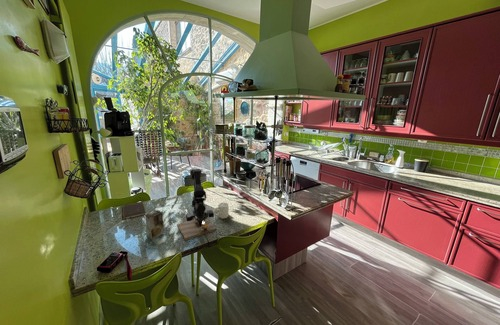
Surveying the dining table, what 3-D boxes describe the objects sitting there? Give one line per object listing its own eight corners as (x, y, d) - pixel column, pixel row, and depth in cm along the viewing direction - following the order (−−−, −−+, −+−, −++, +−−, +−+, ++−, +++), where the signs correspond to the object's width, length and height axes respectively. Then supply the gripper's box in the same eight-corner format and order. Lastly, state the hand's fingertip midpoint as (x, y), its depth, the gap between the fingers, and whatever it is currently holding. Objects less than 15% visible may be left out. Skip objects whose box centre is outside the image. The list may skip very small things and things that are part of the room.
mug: (215, 220, 159) (214, 208, 157) (212, 215, 167) (212, 204, 164) (229, 217, 164) (229, 206, 161) (226, 213, 171) (226, 201, 169)
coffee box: (160, 229, 145) (158, 209, 141) (164, 233, 142) (162, 212, 137) (147, 235, 139) (144, 214, 134) (151, 239, 135) (149, 217, 131)
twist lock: (193, 221, 153) (193, 216, 152) (199, 219, 156) (199, 214, 155) (203, 231, 142) (202, 225, 141) (209, 228, 145) (209, 223, 144)
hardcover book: (143, 204, 185) (142, 201, 185) (145, 215, 166) (145, 212, 166) (122, 208, 177) (122, 205, 176) (122, 220, 158) (122, 217, 157)
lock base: (177, 226, 151) (177, 224, 150) (205, 217, 163) (205, 216, 162) (185, 240, 135) (185, 238, 134) (215, 230, 147) (215, 228, 146)
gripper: (187, 213, 130) (188, 235, 134) (215, 209, 137) (215, 229, 141) (185, 206, 140) (186, 226, 144) (211, 202, 147) (212, 221, 151)
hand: (200, 226), depth 145 cm, fingers closed
